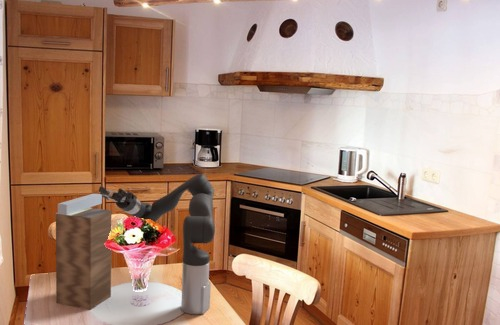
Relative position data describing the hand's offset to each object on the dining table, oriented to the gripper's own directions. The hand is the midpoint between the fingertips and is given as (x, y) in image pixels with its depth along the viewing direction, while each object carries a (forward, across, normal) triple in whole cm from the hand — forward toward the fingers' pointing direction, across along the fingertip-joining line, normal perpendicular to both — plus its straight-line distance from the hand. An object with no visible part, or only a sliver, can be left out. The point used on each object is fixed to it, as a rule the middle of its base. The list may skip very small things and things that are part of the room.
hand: (109, 189), depth 189 cm
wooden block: (0, -4, -42) cm, 42 cm away
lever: (+13, 0, -12) cm, 18 cm away
